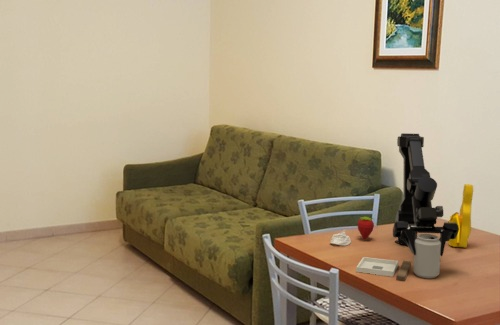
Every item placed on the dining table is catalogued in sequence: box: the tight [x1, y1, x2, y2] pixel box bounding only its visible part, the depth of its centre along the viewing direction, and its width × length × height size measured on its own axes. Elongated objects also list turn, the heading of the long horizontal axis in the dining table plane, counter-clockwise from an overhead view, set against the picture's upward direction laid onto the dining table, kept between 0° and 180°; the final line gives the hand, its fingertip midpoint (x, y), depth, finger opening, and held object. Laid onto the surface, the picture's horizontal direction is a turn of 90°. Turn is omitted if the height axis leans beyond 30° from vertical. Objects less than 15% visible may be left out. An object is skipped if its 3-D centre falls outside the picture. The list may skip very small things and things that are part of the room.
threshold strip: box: [395, 260, 412, 282], centre depth 176 cm, size 16×2×1 cm, turn 158°
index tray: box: [355, 256, 399, 278], centre depth 179 cm, size 11×11×2 cm
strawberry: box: [356, 216, 375, 240], centre depth 211 cm, size 6×8×10 cm
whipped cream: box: [329, 231, 352, 247], centre depth 206 cm, size 8×7×5 cm
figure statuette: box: [447, 184, 474, 249], centre depth 203 cm, size 18×8×22 cm, turn 170°
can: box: [412, 233, 441, 279], centre depth 173 cm, size 8×8×12 cm
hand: (428, 255), depth 171 cm, fingers closed on can, 7 cm apart
